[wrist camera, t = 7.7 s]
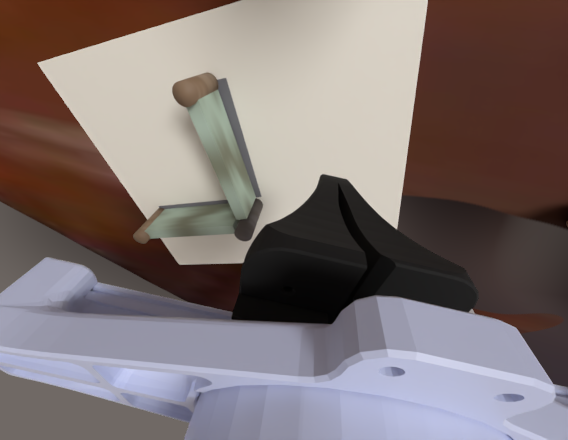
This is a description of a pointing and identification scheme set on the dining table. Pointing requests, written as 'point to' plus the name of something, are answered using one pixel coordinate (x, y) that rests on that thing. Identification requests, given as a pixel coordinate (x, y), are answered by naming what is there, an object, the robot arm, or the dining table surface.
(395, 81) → the board
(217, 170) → the hinged fence section
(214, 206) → the fixed fence section
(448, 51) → the dining table surface
